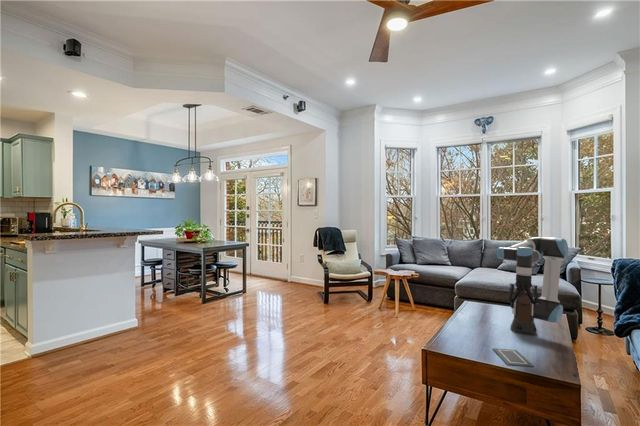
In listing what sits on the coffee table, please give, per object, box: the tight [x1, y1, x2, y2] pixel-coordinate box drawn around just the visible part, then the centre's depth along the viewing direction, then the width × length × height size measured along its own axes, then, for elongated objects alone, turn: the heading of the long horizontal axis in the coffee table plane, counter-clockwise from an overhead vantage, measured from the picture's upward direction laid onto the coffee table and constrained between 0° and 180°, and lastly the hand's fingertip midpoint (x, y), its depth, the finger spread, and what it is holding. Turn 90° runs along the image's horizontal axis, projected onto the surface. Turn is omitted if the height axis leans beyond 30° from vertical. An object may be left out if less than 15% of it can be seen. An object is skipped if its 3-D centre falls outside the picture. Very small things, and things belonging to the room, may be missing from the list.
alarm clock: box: [515, 289, 531, 326], centre depth 189 cm, size 15×7×20 cm, turn 153°
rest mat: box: [492, 348, 535, 368], centre depth 183 cm, size 13×20×1 cm, turn 172°
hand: (522, 314), depth 189 cm, fingers closed on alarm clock, 8 cm apart
